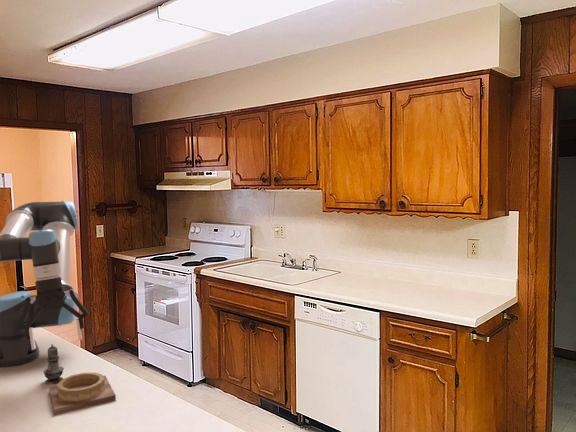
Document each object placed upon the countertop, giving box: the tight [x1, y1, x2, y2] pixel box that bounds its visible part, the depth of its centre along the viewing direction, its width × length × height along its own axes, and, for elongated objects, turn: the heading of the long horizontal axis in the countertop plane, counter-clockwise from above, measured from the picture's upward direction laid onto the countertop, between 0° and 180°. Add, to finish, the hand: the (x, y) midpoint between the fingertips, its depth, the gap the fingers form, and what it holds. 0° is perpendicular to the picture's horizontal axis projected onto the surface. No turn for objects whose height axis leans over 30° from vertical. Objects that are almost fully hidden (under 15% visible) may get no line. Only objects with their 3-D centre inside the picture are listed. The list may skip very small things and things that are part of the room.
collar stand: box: [48, 372, 117, 416], centre depth 141 cm, size 16×16×4 cm
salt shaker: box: [42, 343, 65, 386], centre depth 152 cm, size 6×6×12 cm
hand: (57, 344), depth 153 cm, fingers open, 13 cm apart
